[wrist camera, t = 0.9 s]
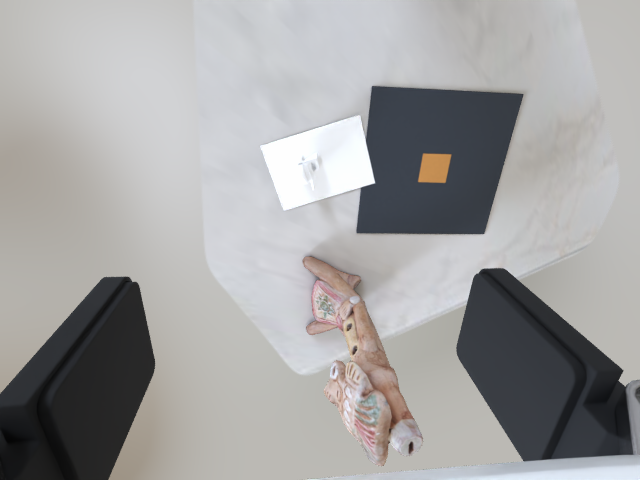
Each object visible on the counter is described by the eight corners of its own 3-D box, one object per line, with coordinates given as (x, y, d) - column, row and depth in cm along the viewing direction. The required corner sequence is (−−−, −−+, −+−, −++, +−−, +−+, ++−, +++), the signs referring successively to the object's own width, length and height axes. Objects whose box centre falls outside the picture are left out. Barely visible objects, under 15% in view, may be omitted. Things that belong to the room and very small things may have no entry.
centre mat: (372, 86, 33) (372, 86, 33) (522, 94, 34) (523, 94, 34) (356, 232, 39) (356, 233, 39) (483, 233, 41) (484, 234, 41)
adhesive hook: (291, 156, 35) (292, 164, 32) (317, 148, 35) (319, 155, 32) (301, 184, 36) (302, 194, 33) (325, 176, 36) (328, 186, 33)
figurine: (303, 254, 40) (321, 407, 22) (373, 263, 41) (442, 413, 23) (288, 327, 44) (293, 504, 26) (351, 333, 46) (396, 504, 28)
